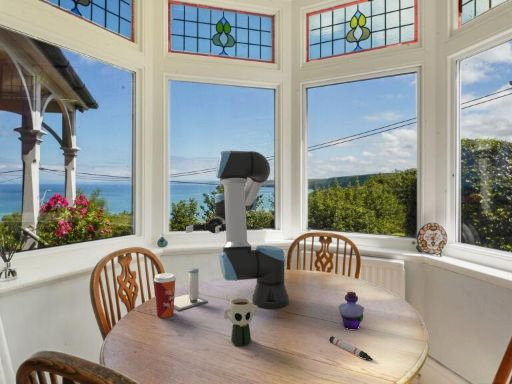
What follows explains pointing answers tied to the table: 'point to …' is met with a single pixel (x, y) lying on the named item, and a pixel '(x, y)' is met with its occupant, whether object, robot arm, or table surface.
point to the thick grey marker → (193, 285)
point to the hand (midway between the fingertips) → (201, 230)
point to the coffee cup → (165, 294)
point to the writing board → (186, 302)
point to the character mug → (240, 319)
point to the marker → (349, 348)
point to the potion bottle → (351, 311)
